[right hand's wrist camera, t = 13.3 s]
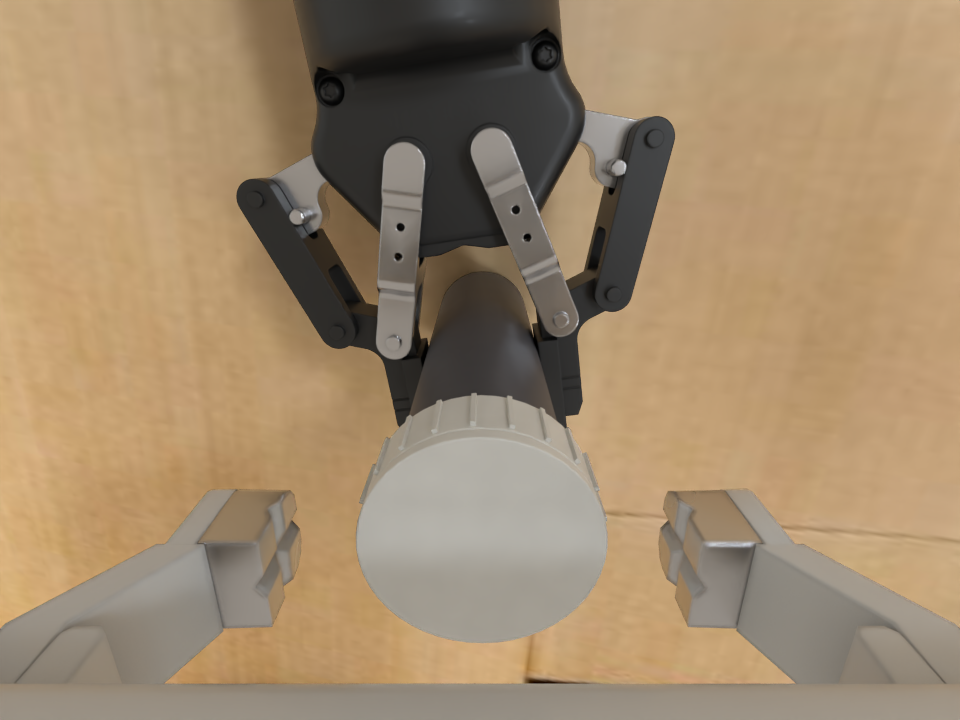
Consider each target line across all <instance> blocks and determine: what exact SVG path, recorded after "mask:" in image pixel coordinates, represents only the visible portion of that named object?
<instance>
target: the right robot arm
mask: <svg viewBox="0 0 960 720" xmlns="http://www.w3.org/2000/svg"><path fill="white" fill-rule="evenodd" d="M296 510H297V507H296V502H295V496H294V494H293V493H292V492H291V491H290V490H250V489H240V490H237V489H214V490H211V491H208V492H207V493H206V494H205V495H204V497H203V498H202V499H201V500H200V501H199V503H198V504H197V505H196V506H195V508H194V509H193V510H192V511H191V513H190V514H189V515H188V516H187V518H186V519H185V520H184V521H183V522H182V524H181V525H180V526H179V527H178V529H177V530H176V531H175V532H174V534H173V535H172V536H171V537H170V539H169V540H168V541H167V542H166V543H165V544H156V545H154V546H152V547H150V548H148V549H146V550H144V551H143V552H141V553H139V554H137V555H135V556H133V557H131V558H129V559H127V560H125V561H124V562H122V563H120V564H118V565H116V566H114V567H112V568H110V569H108V570H106V571H105V572H103V573H101V574H99V575H97V576H95V577H93V578H91V579H89V580H87V581H85V582H84V583H82V584H80V585H78V586H76V587H74V588H72V589H70V590H68V591H66V592H65V593H63V594H61V595H59V596H57V597H55V598H53V599H51V600H49V601H47V602H46V603H44V604H42V605H40V606H38V607H36V608H34V609H32V610H30V611H28V612H27V613H25V614H23V615H21V616H19V617H17V618H15V619H13V620H11V621H9V622H8V623H6V624H5V625H4V626H3V627H2V628H1V629H0V720H960V628H959V627H958V626H957V625H956V624H954V623H952V622H950V621H948V620H946V619H944V618H943V617H941V616H939V615H937V614H935V613H933V612H931V611H929V610H927V609H926V608H924V607H922V606H920V605H918V604H916V603H914V602H912V601H910V600H908V599H907V598H905V597H903V596H901V595H899V594H897V593H895V592H893V591H891V590H889V589H888V588H886V587H884V586H882V585H880V584H878V583H876V582H874V581H872V580H871V579H869V578H867V577H865V576H863V575H861V574H859V573H857V572H855V571H853V570H852V569H850V568H848V567H846V566H844V565H842V564H840V563H838V562H836V561H834V560H833V559H831V558H829V557H827V556H825V555H823V554H821V553H819V552H817V551H816V550H814V549H812V548H810V547H808V546H806V545H804V544H795V543H794V542H793V541H792V540H791V539H790V537H789V536H788V535H787V534H786V532H785V531H784V530H783V529H782V527H781V526H780V525H779V524H778V523H777V521H776V520H775V519H774V518H773V516H772V515H771V514H770V513H769V511H768V510H767V509H766V508H765V507H764V505H763V504H762V503H761V502H760V500H759V499H758V498H757V497H756V495H755V494H754V493H753V492H752V491H750V490H748V489H726V490H704V491H668V492H667V494H666V497H665V500H664V507H663V510H664V512H665V514H666V516H667V518H668V521H667V522H666V523H665V524H664V525H663V526H662V527H661V528H660V535H659V555H660V561H661V565H662V569H663V571H664V573H665V576H666V578H667V580H669V581H670V582H672V583H673V584H674V585H676V586H677V588H676V594H675V599H676V601H677V603H678V606H679V608H680V610H681V612H682V615H683V617H684V619H685V621H686V623H687V626H688V627H707V628H737V630H736V631H737V632H739V633H740V634H741V635H742V636H743V637H744V638H745V639H746V640H748V641H749V642H750V643H751V644H752V645H753V646H754V647H756V648H757V649H758V650H759V651H760V652H761V653H762V654H763V655H765V656H766V657H767V658H768V659H769V660H770V661H771V662H773V663H774V664H775V665H776V666H777V667H778V668H779V669H780V670H782V671H783V672H784V673H785V674H786V675H787V676H788V677H789V678H791V679H792V680H793V681H794V682H795V683H796V684H164V683H165V682H166V681H167V680H168V679H170V678H171V677H172V676H173V675H174V674H175V673H176V672H177V671H179V670H180V669H181V668H182V667H183V666H184V665H185V664H187V663H188V662H189V661H190V660H191V659H192V658H193V657H195V656H196V655H197V654H198V653H199V652H200V651H201V650H202V649H204V648H205V647H206V646H207V645H208V644H209V643H210V642H212V641H213V640H214V639H215V638H216V637H217V636H218V635H219V634H221V633H222V632H223V628H252V627H272V626H273V624H274V621H275V619H276V617H277V615H278V612H279V610H280V608H281V606H282V603H283V601H284V599H285V594H284V588H283V586H284V585H286V584H287V583H288V582H290V581H291V580H293V578H294V576H295V573H296V571H297V568H298V565H299V560H300V554H301V534H300V528H299V527H298V526H297V525H296V524H295V523H294V522H293V521H292V518H293V516H294V514H295V512H296Z"/></svg>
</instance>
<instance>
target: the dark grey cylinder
mask: <svg viewBox="0 0 960 720" xmlns="http://www.w3.org/2000/svg"><path fill="white" fill-rule="evenodd" d="M471 393H477V395H487V396H499V397H505V398H507V396H512V399H514V400H517V401H520V402H524V403H526V404H529V405H531V406H533V407H535V408H538V409H540V407H541V408H543V409H545V412H546V414H548V415H549V416H551V417H552V418H553V419H555V420H556V416H555V412H554V409H553V405H552V402H551V398H550V394H549V391H548V387H547V384H546V380H545V376H544V373H543V369H542V366H541V362H540V359H539V355H538V351H537V348H536V344H535V341H534V337H533V333H532V330H531V326H530V323H529V319H528V315H527V312H526V308H525V305H524V301H523V298H522V296H521V294H520V292H519V291H518V289H517V288H516V287H515V286H514V284H513V283H511V282H510V281H509V280H508V279H506V278H505V277H503V276H501V275H498V274H495V273H491V272H475V273H470V274H468V275H465V276H463V277H461V278H460V279H458V280H457V281H455V282H454V283H453V284H452V285H451V286H450V287H449V289H448V290H447V292H446V293H445V295H444V297H443V300H442V303H441V307H440V310H439V314H438V317H437V321H436V324H435V328H434V331H433V334H432V338H431V341H430V345H429V348H428V352H427V355H426V359H425V362H424V366H423V369H422V373H421V376H420V379H419V383H418V386H417V390H416V393H415V397H414V400H413V404H412V407H411V411H410V414H409V415H411V416H412V417H413V416H414V415H416V414H417V413H419V412H420V411H422V410H424V409H426V408H428V407H430V406H432V405H435V404H436V401H438V400H442V402H443V401H446V400H449V399H453V398H459V397H464V396H471ZM556 421H557V420H556Z"/></svg>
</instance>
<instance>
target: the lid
mask: <svg viewBox="0 0 960 720" xmlns="http://www.w3.org/2000/svg"><path fill="white" fill-rule="evenodd" d="M599 490H600V489H599V486H598V484H597V481H596V478H595V475H594V472H593V469H592V466H591V463H590V461H589V458H588V455H587V453H586V452H585V453H582V451H581V449H580V447H579V446H578V444H577V443H576V441H575V440H574V438H573V435H572V432H571V430H570V429H569V427H567V428H566V429H565V428H564V427H563V426H562V425H561V424H560V423H558V422H557V421H556V420H555V419H553V418H552V417H551V416H549V415H548V414H546V412H545V409H543V408H541V407H540V409H538V408H535V407H533V406H531V405H529V404H526V403H524V402H520V401H517V400H514V399H512V396H507V398H505V397H499V396H487V395H477V393H471V396H464V397H459V398H453V399H449V400H446V401H443V402H442V400H438V401H436V404H435V405H432V406H430V407H428V408H426V409H424V410H422V411H420V412H419V413H417V414H416V415H414V416H413V417H412V416H411V415H409V416H408V417H407V418H406V421H405V423H404V424H403V425H401V426H400V427H399V429H398V430H397V431H396V432H395V433H394V434H393V435H392V436H391V438H390V439H389V438H388V437H386V439H385V440H384V443H383V446H382V449H381V452H380V454H379V457H378V460H377V463H376V465H375V464H373V465H372V468H371V471H370V473H369V476H368V479H367V482H366V484H365V487H364V490H363V493H362V496H361V498H360V502H359V503H361V504H363V505H362V508H361V511H360V515H359V518H358V522H357V530H356V550H357V555H358V560H359V564H360V566H361V569H362V572H363V575H364V577H365V579H366V581H367V582H368V584H369V586H370V588H371V589H372V591H373V592H374V593H375V595H376V596H377V597H378V599H379V600H380V601H381V602H382V603H383V604H384V605H385V606H386V607H387V608H388V609H389V610H390V611H392V612H393V613H394V614H395V615H397V616H398V617H399V618H401V619H402V620H404V621H405V622H407V623H409V624H410V625H412V626H414V627H416V628H418V629H420V630H422V631H424V632H427V633H430V634H432V635H435V636H438V637H442V638H446V639H450V640H455V641H462V642H470V643H494V642H503V641H510V640H515V639H519V638H522V637H526V636H529V635H532V634H535V633H537V632H540V631H542V630H544V629H546V628H548V627H550V626H552V625H554V624H556V623H557V622H559V621H560V620H562V619H563V618H565V617H566V616H568V615H569V614H570V613H571V612H572V611H574V610H575V609H576V608H577V607H578V606H579V605H580V604H581V603H582V602H583V601H584V600H585V599H586V597H587V596H588V595H589V593H590V592H591V590H592V589H593V588H594V586H595V584H596V582H597V580H598V578H599V576H600V574H601V571H602V568H603V565H604V562H605V558H606V553H607V535H608V534H607V527H606V521H607V516H606V513H605V510H604V508H603V505H602V502H601V499H600V496H599V493H598V491H599Z"/></svg>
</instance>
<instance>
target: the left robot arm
mask: <svg viewBox="0 0 960 720" xmlns="http://www.w3.org/2000/svg"><path fill="white" fill-rule="evenodd" d="M293 1H294V6H295V10H296V14H297V19H298V23H299V27H300V32H301V36H302V40H303V45H304V49H305V54H306V58H307V62H308V67H309V71H310V76H311V80H312V84H313V88H314V92H315V96H316V102H317V119H316V126H315V130H314V133H313V137H312V143H311V150H312V154H311V155H309V156H307V157H306V158H304V159H302V160H300V161H298V162H297V163H295V164H293V165H291V166H290V167H288V168H286V169H284V170H282V171H281V172H279V173H277V174H275V175H274V176H272V177H268V178H257V179H249V180H246V181H244V182H243V183H242V184H241V185H240V186H239V188H238V191H237V203H238V205H239V207H240V209H241V211H242V212H243V214H244V215H245V217H246V219H247V220H248V222H249V223H250V225H251V226H252V228H253V230H254V231H255V233H256V234H257V236H258V238H259V239H260V241H261V242H262V244H263V246H264V247H265V249H266V250H267V252H268V254H269V255H270V257H271V258H272V260H273V261H274V263H275V265H276V266H277V268H278V269H279V271H280V273H281V274H282V276H283V277H284V279H285V281H286V282H287V284H288V285H289V287H290V289H291V290H292V292H293V293H294V295H295V296H296V298H297V300H298V301H299V303H300V304H301V306H302V308H303V309H304V311H305V312H306V314H307V316H308V317H309V319H310V320H311V322H312V324H313V325H314V327H315V328H316V330H317V331H318V333H319V335H320V336H321V338H322V339H323V341H324V342H325V343H326V344H327V345H329V346H330V347H333V348H337V349H342V348H346V347H348V346H354V347H360V348H365V349H369V350H371V351H373V352H375V353H376V354H377V355H379V357H380V358H381V359H382V361H383V363H384V365H385V369H386V374H387V378H388V383H389V387H390V392H391V396H392V400H393V405H394V409H395V414H396V419H397V423H398V426H399V427H400V426H401V425H403V424H404V423H405V421H406V418H407V417H408V416H409V414H410V411H411V407H412V404H413V400H414V397H415V393H416V390H417V386H418V383H419V379H420V376H421V373H422V369H423V366H424V362H425V359H426V355H427V352H428V348H429V346H428V341H427V338H423V339H421V338H420V333H419V324H420V313H421V303H422V292H423V282H424V277H425V271H426V262H427V257H431V256H438V255H442V254H444V253H446V252H449V251H451V250H453V249H455V248H458V247H460V246H463V245H468V246H476V247H485V248H492V247H499V246H506V245H509V246H510V249H511V251H512V253H513V256H514V258H515V260H516V263H517V265H518V267H519V270H520V272H521V274H522V277H523V279H524V281H525V283H526V286H527V288H528V290H529V293H530V295H531V297H532V300H533V302H534V305H535V307H536V313H537V322H538V323H534V324H532V326H533V335H534V341H535V344H536V348H537V351H538V355H539V359H540V362H541V366H542V369H543V373H544V376H545V380H546V384H547V387H548V391H549V394H550V398H551V402H552V405H553V409H554V412H555V416H556V420H557V422H558V423H560V424H561V425H562V426H563V427H564V428H565V429H566V428H567V425H566V416H570V415H578V414H579V411H580V408H581V405H582V402H583V400H582V389H581V378H580V366H579V355H578V344H577V336H578V332H579V329H580V327H581V326H582V325H583V324H584V323H585V322H586V321H587V320H588V319H590V318H592V317H594V316H596V315H598V314H600V313H602V312H604V311H608V312H616V311H619V310H621V309H623V308H624V307H625V306H627V304H628V303H629V301H630V299H631V296H632V293H633V289H634V286H635V282H636V278H637V275H638V271H639V267H640V264H641V260H642V257H643V253H644V249H645V246H646V242H647V238H648V235H649V231H650V228H651V224H652V220H653V217H654V213H655V209H656V206H657V202H658V199H659V195H660V191H661V188H662V184H663V180H664V177H665V173H666V170H667V166H668V162H669V159H670V155H671V151H672V148H673V144H674V140H675V132H674V128H673V126H672V124H671V123H670V122H669V121H668V120H667V119H665V118H663V117H659V116H654V117H645V118H641V119H637V120H636V119H631V118H625V117H620V116H615V115H609V114H604V113H599V112H594V111H588V110H585V106H584V102H583V100H582V97H581V95H580V94H579V92H578V91H577V89H576V88H575V86H574V85H573V83H572V81H571V79H570V77H569V75H568V72H567V69H566V66H565V62H564V56H563V47H562V35H561V23H560V10H559V0H293ZM577 144H580V145H582V146H583V147H584V148H585V149H586V150H587V152H588V154H589V157H590V167H589V169H590V175H591V177H592V179H593V180H594V181H595V182H596V183H597V184H599V185H602V186H604V189H603V194H602V198H601V202H600V206H599V210H598V214H597V219H596V223H595V227H594V231H593V235H592V239H591V244H590V248H589V252H588V256H587V260H586V265H585V269H584V272H582V273H580V274H578V275H576V276H574V277H572V278H570V279H568V280H566V281H565V279H564V277H563V274H562V272H561V269H560V266H559V262H558V259H557V257H556V254H555V252H554V249H553V247H552V244H551V241H550V239H549V236H548V234H547V231H546V229H545V226H544V224H543V221H542V219H541V216H540V212H541V210H542V209H543V207H544V205H545V203H546V201H547V199H548V198H549V196H550V194H551V192H552V190H553V188H554V187H555V185H556V183H557V181H558V179H559V177H560V176H561V174H562V172H563V170H564V168H565V166H566V165H567V163H568V161H569V159H570V157H571V155H572V154H573V152H574V150H575V148H576V146H577ZM329 184H330V185H331V186H332V187H333V188H334V189H335V190H336V191H337V192H339V193H340V194H341V195H342V196H343V197H344V198H345V199H346V200H347V201H348V202H349V203H350V204H351V205H352V206H353V207H354V208H355V209H356V210H357V211H358V212H359V213H360V214H361V215H362V216H363V217H364V218H365V219H366V220H367V221H368V222H369V223H370V224H371V225H372V226H373V227H374V228H375V229H376V230H377V231H378V232H379V233H380V246H379V262H378V278H377V288H378V291H379V303H378V306H377V305H372V304H367V303H366V302H365V301H364V299H363V297H362V295H361V294H360V292H359V290H358V289H357V287H356V285H355V283H354V282H353V280H352V278H351V277H350V275H349V273H348V271H347V270H346V268H345V266H344V265H343V263H342V261H341V260H340V258H339V256H338V254H337V253H336V251H335V249H334V248H333V246H332V244H331V242H330V241H329V239H328V237H327V236H326V234H325V232H324V230H323V229H322V228H323V227H324V226H325V225H326V224H327V223H328V220H329V215H330V214H329V208H328V206H327V203H326V199H325V193H326V189H327V187H328V186H329Z"/></svg>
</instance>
